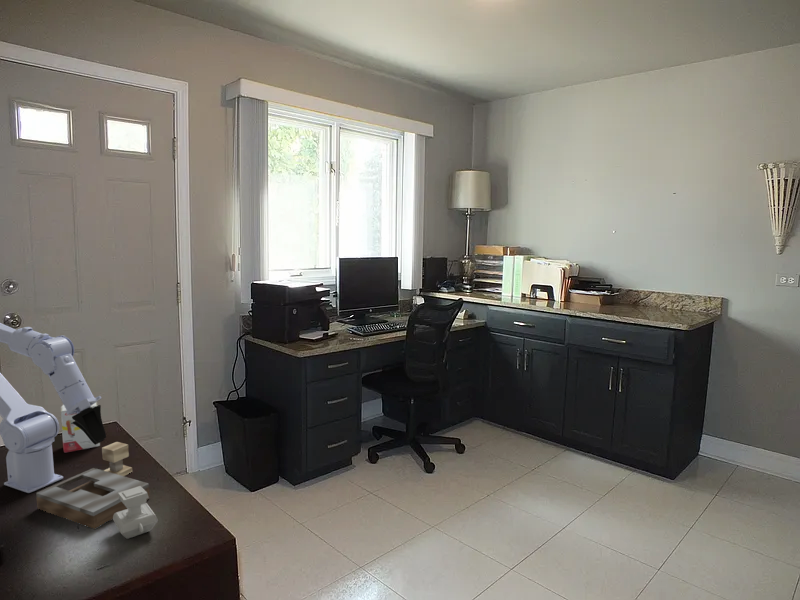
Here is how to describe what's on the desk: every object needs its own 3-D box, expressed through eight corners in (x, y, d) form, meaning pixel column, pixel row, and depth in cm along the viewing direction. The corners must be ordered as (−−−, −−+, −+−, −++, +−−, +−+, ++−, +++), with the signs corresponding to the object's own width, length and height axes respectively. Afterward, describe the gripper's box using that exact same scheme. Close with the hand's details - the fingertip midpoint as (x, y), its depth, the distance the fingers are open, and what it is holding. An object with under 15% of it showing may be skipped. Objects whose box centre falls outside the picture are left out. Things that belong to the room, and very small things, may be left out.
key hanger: (101, 476, 125) (99, 448, 124) (118, 468, 129) (117, 440, 128) (114, 480, 123) (112, 451, 122) (132, 472, 127) (130, 444, 126)
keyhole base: (37, 508, 110) (36, 492, 109) (94, 482, 122) (93, 467, 121) (94, 529, 103) (93, 512, 102) (149, 498, 114) (148, 483, 114)
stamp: (161, 535, 101) (158, 494, 100) (123, 548, 97) (121, 506, 95) (146, 516, 108) (144, 477, 106) (111, 527, 103) (108, 488, 102)
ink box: (63, 453, 137) (59, 410, 135) (63, 446, 141) (59, 405, 139) (100, 446, 142) (97, 404, 140) (99, 440, 146) (96, 399, 144)
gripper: (92, 373, 111) (121, 428, 111) (90, 384, 123) (117, 434, 123) (55, 388, 107) (86, 446, 107) (57, 398, 119) (85, 450, 118)
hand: (100, 441), depth 114 cm, fingers open, 7 cm apart
